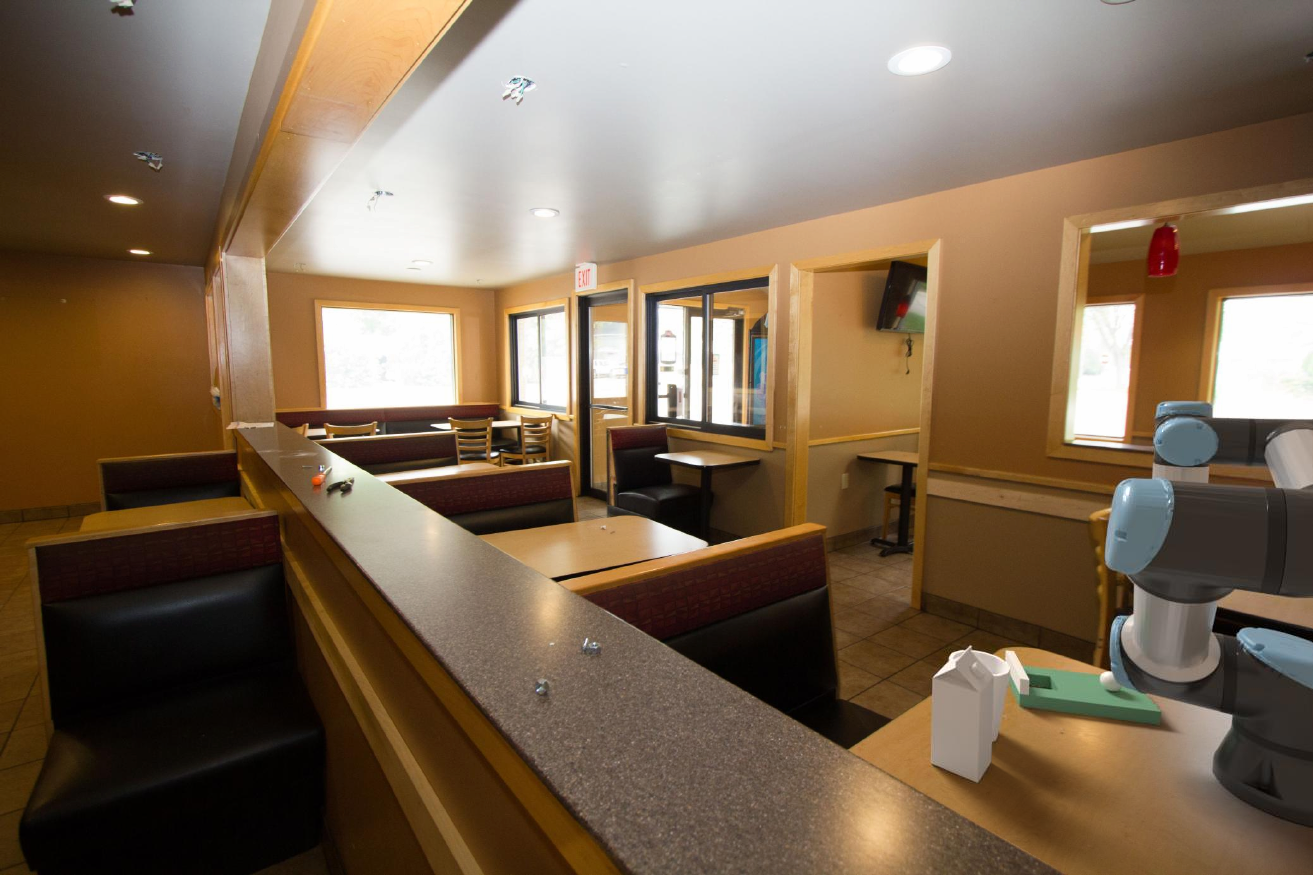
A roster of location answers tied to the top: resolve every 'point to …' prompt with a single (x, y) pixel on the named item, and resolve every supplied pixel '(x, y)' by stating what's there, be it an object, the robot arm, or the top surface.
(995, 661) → the foam cup
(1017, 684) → the putting board
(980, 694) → the milk carton
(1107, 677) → the golf ball
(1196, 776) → the top surface
